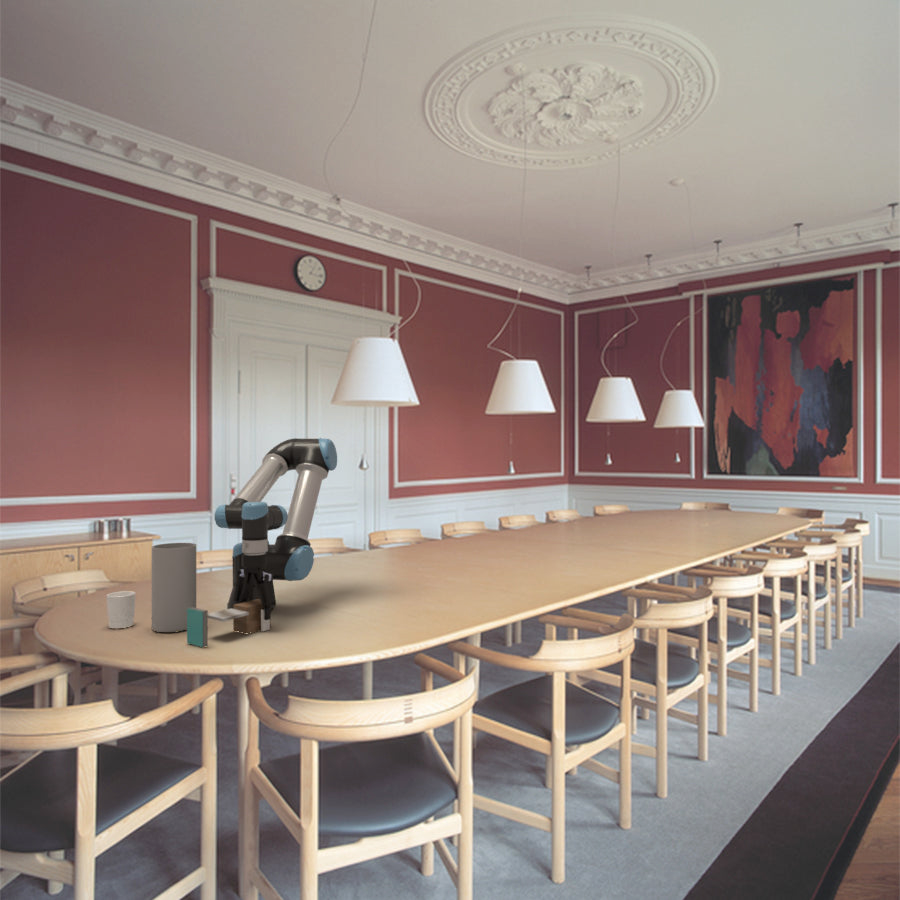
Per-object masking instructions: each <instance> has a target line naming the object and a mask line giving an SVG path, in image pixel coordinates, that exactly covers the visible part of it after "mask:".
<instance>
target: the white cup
mask: <svg viewBox="0 0 900 900" xmlns="http://www.w3.org/2000/svg"><path fill="white" fill-rule="evenodd" d="M106 605H107V606H106V608H107V611H106V612H107V619H108V628H109V627H110V628H124V627H128V626H131V625H133V626H134V618H135V608H136V592H135V591H133V590H132V591H129V590H123V591H115V592H110V593H108V594H106ZM110 628H109V629H110ZM124 629H125V628H124Z"/></svg>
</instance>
